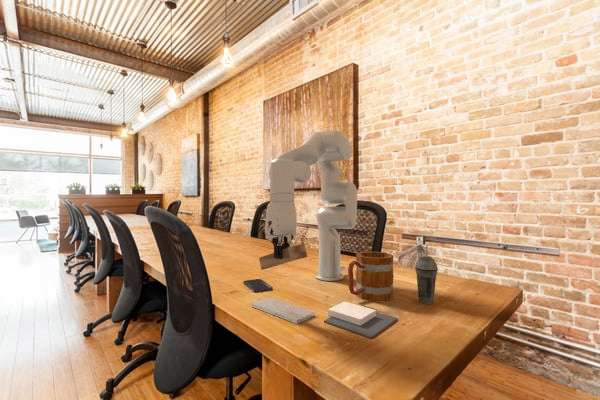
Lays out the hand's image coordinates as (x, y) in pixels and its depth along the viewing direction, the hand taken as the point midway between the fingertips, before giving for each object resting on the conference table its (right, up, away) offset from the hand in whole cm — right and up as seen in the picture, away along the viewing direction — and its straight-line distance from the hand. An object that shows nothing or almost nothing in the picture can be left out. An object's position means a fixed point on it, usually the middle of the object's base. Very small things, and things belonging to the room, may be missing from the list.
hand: (281, 257), depth 94 cm
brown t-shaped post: (0, -2, 0) cm, 2 cm away
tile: (+17, -16, -2) cm, 23 cm away
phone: (-11, -17, +26) cm, 34 cm away
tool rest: (0, -17, 0) cm, 17 cm away
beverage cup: (+49, -17, +9) cm, 53 cm away
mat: (+24, -17, -7) cm, 30 cm away
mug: (+30, -17, +13) cm, 37 cm away
